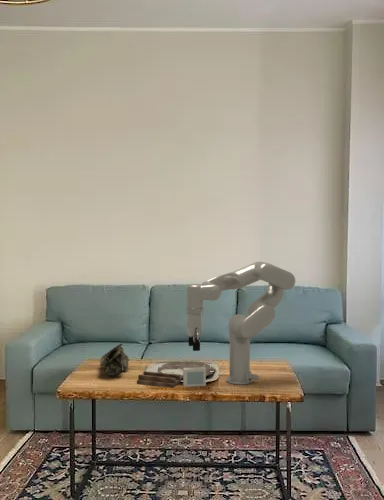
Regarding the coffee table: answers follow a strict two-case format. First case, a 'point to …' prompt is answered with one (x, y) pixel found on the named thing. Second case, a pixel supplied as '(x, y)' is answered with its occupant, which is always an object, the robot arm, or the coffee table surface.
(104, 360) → the hollow geode rock
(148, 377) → the picture ledge
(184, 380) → the picture frame
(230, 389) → the coffee table surface
